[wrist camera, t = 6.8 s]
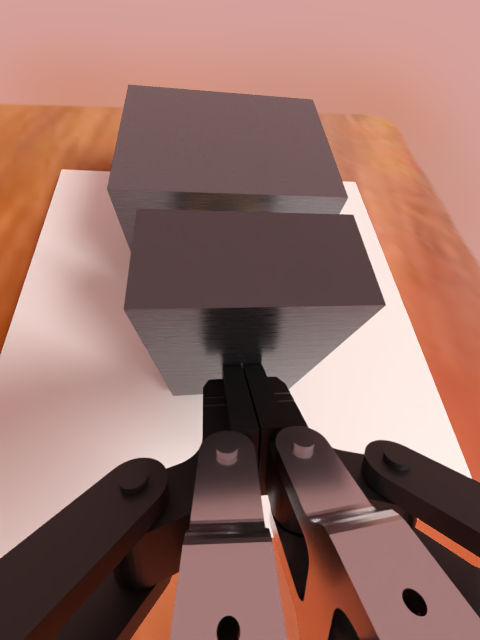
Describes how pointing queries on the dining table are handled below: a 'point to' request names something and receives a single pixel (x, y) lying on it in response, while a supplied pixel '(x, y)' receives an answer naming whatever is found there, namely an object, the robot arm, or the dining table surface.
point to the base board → (149, 386)
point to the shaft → (246, 291)
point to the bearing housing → (221, 155)
